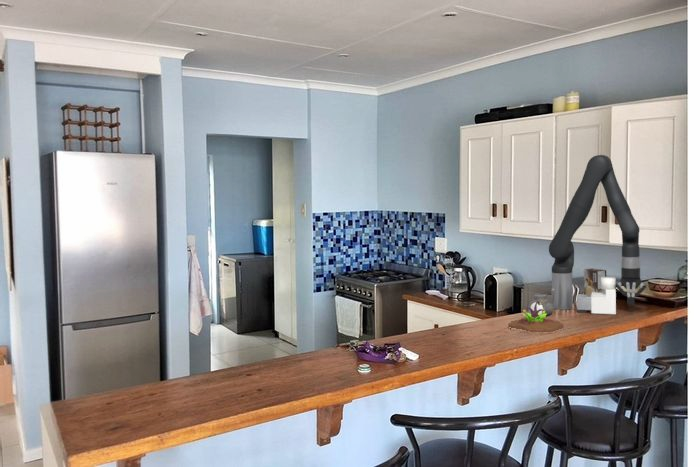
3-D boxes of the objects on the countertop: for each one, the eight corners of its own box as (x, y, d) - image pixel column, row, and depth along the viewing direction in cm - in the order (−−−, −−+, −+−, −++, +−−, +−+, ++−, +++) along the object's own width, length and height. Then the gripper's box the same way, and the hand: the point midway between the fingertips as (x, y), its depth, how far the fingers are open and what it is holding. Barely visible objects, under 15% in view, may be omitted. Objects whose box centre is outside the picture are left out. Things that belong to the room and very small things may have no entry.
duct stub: (577, 312, 262) (577, 296, 261) (577, 310, 267) (577, 294, 267) (598, 313, 258) (598, 297, 258) (598, 311, 263) (598, 294, 263)
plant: (572, 329, 233) (572, 302, 233) (539, 337, 223) (539, 308, 222) (533, 321, 250) (532, 295, 250) (501, 328, 240) (500, 301, 239)
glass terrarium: (544, 319, 250) (543, 295, 251) (527, 318, 256) (526, 295, 257) (557, 317, 258) (556, 294, 259) (541, 316, 264) (540, 294, 265)
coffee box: (607, 302, 282) (607, 270, 281) (598, 303, 280) (597, 271, 279) (592, 299, 291) (592, 268, 290) (583, 300, 288) (583, 269, 287)
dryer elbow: (591, 313, 258) (591, 278, 257) (592, 309, 266) (591, 276, 265) (615, 314, 254) (615, 279, 253) (615, 310, 262) (615, 276, 260)
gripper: (614, 267, 253) (614, 306, 254) (647, 268, 248) (648, 307, 249) (614, 265, 260) (614, 302, 261) (646, 265, 255) (647, 304, 256)
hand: (630, 305), depth 255 cm, fingers closed
